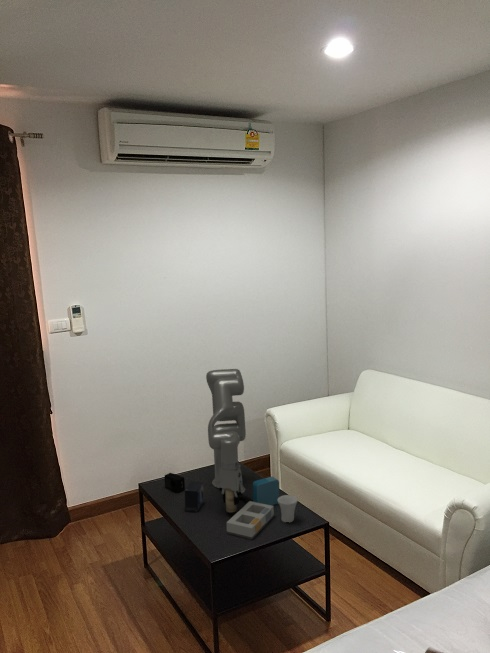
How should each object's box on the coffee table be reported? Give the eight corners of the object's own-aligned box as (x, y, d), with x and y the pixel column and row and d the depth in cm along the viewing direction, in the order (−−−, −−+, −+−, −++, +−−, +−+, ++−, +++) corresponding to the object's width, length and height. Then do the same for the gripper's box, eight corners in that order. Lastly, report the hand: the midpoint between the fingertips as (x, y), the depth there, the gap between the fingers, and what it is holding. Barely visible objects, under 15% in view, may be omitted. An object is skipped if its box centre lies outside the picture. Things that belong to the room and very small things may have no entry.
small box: (198, 512, 246) (197, 491, 245) (184, 511, 248) (183, 490, 246) (204, 502, 257) (203, 481, 255) (191, 501, 258) (190, 480, 256)
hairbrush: (249, 505, 247) (218, 485, 266) (249, 512, 247) (218, 492, 266) (263, 499, 252) (231, 480, 271) (263, 507, 252) (231, 487, 272)
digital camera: (163, 488, 273) (162, 475, 272) (171, 485, 277) (170, 472, 276) (177, 494, 266) (176, 480, 265) (185, 490, 270) (184, 477, 269)
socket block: (250, 511, 246) (249, 500, 245) (274, 516, 240) (273, 505, 239) (226, 533, 227) (226, 521, 226) (252, 539, 221) (252, 527, 220)
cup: (273, 518, 238) (273, 497, 237) (292, 513, 242) (291, 492, 241) (283, 527, 230) (282, 505, 229) (302, 522, 234) (301, 500, 233)
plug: (229, 505, 247) (228, 481, 245) (238, 508, 244) (238, 483, 242) (223, 510, 242) (222, 485, 240) (233, 513, 240) (232, 487, 238)
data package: (274, 499, 257) (274, 475, 255) (279, 503, 253) (279, 479, 251) (253, 505, 251) (252, 481, 249) (257, 509, 247) (257, 484, 246)
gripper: (250, 465, 239) (251, 502, 242) (217, 458, 247) (219, 495, 250) (242, 471, 233) (243, 510, 235) (209, 464, 240) (210, 502, 243)
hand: (231, 502), depth 243 cm, fingers closed on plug, 4 cm apart
